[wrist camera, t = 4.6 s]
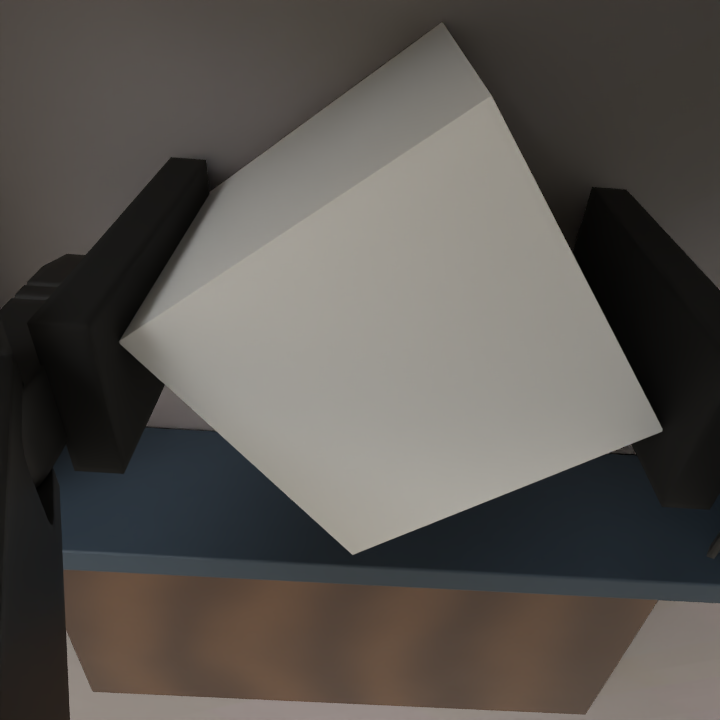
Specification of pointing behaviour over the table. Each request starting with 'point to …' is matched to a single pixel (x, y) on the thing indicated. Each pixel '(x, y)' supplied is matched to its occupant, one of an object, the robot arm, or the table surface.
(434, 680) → the board
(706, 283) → the robot arm
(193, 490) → the bin
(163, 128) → the table surface
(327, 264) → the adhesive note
